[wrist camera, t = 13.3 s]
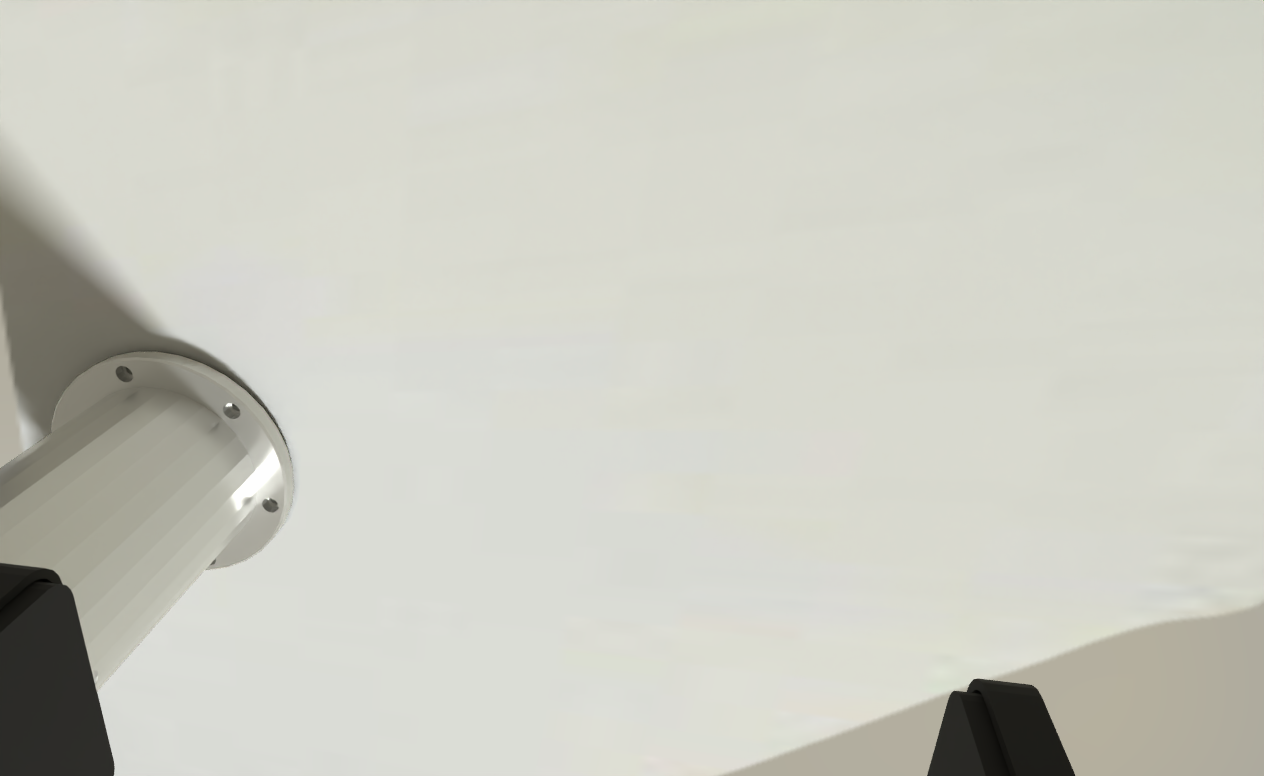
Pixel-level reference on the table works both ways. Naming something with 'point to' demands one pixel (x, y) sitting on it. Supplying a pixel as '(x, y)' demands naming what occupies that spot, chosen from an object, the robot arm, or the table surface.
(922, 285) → the table surface
